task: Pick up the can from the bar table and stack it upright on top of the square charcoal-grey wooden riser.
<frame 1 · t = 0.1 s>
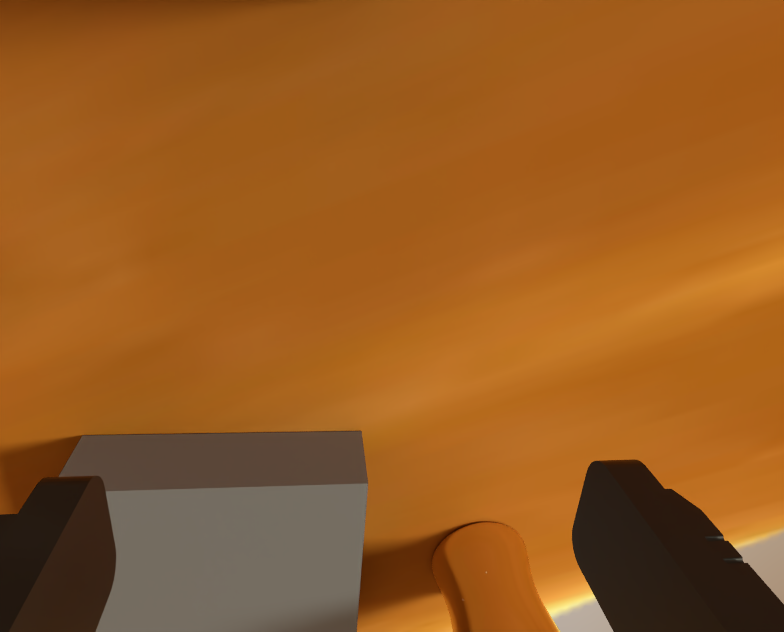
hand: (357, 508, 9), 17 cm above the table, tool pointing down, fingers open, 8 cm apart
beer glass: (477, 553, 36), on the table
riser: (232, 531, 32), on the table
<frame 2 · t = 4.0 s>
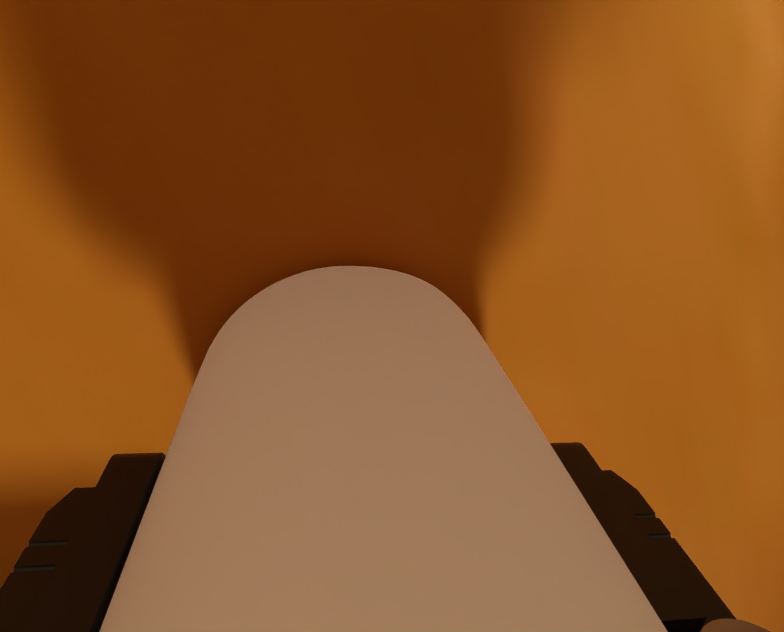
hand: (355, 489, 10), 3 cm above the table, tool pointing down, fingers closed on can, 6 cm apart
can: (348, 388, 13), on the table, touching gripper
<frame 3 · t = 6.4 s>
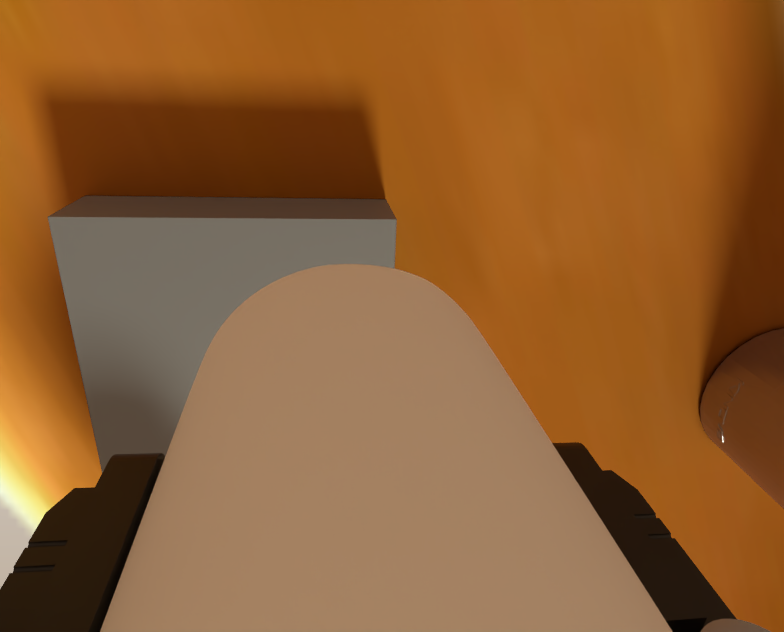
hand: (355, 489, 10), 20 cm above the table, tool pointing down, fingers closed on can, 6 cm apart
riser: (249, 329, 30), on the table
can: (347, 386, 13), point 16 cm above the table, touching gripper
when the fingers open (9 cm above the table, at t = 9.3 s): can drops 1 cm, resting on riser.
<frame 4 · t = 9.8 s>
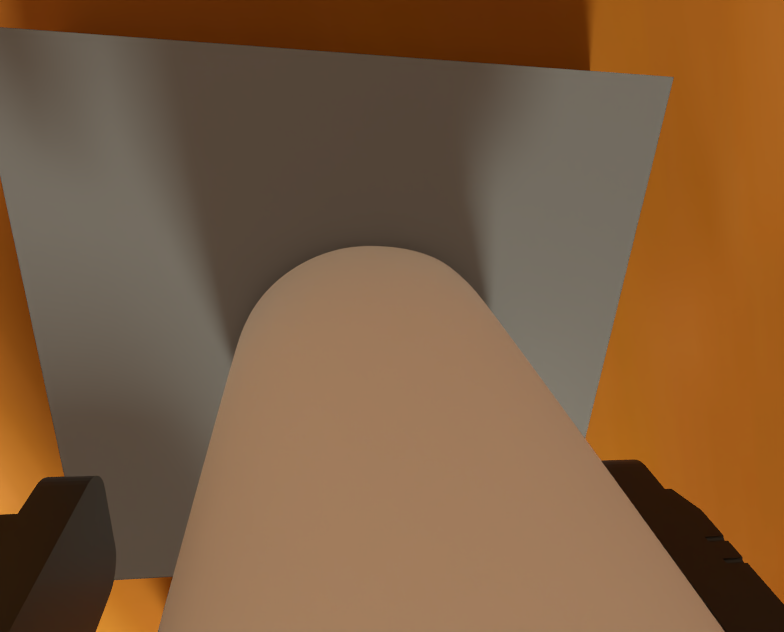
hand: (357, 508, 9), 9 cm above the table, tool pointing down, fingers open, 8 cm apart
riser: (336, 300, 18), on the table
can: (368, 358, 14), point 4 cm above the table, touching riser
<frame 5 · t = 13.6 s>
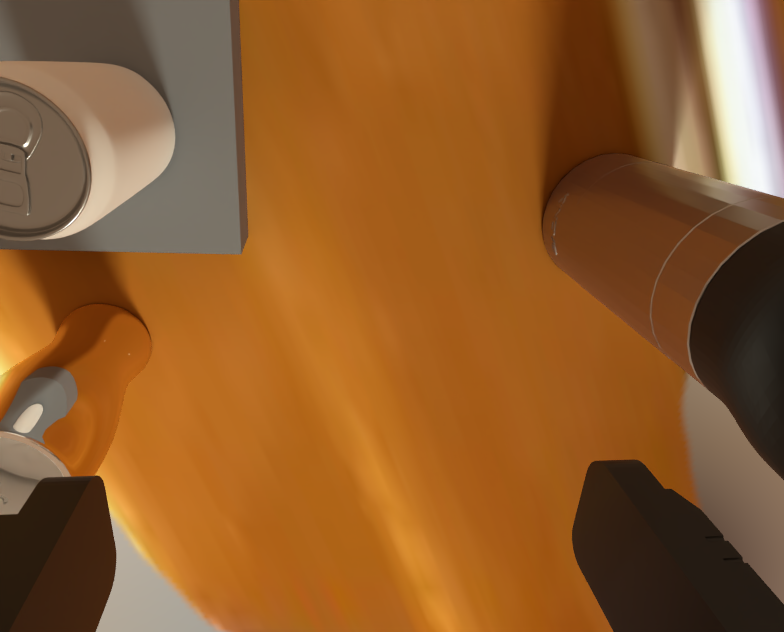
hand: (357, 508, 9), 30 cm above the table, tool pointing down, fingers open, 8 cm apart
beer glass: (107, 341, 39), on the table
riser: (124, 120, 34), on the table
can: (116, 127, 30), point 4 cm above the table, touching riser
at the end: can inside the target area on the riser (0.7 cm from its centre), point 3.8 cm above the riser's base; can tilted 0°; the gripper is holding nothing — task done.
